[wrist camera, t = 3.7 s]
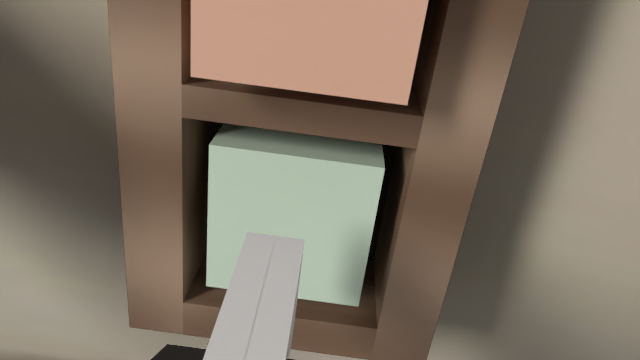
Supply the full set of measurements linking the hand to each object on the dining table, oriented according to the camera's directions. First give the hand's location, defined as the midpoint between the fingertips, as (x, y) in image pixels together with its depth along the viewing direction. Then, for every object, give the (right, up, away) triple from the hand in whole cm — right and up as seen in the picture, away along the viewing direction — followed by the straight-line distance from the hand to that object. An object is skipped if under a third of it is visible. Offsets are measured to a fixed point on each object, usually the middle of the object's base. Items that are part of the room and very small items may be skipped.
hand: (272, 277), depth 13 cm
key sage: (+1, +3, +6) cm, 7 cm away
